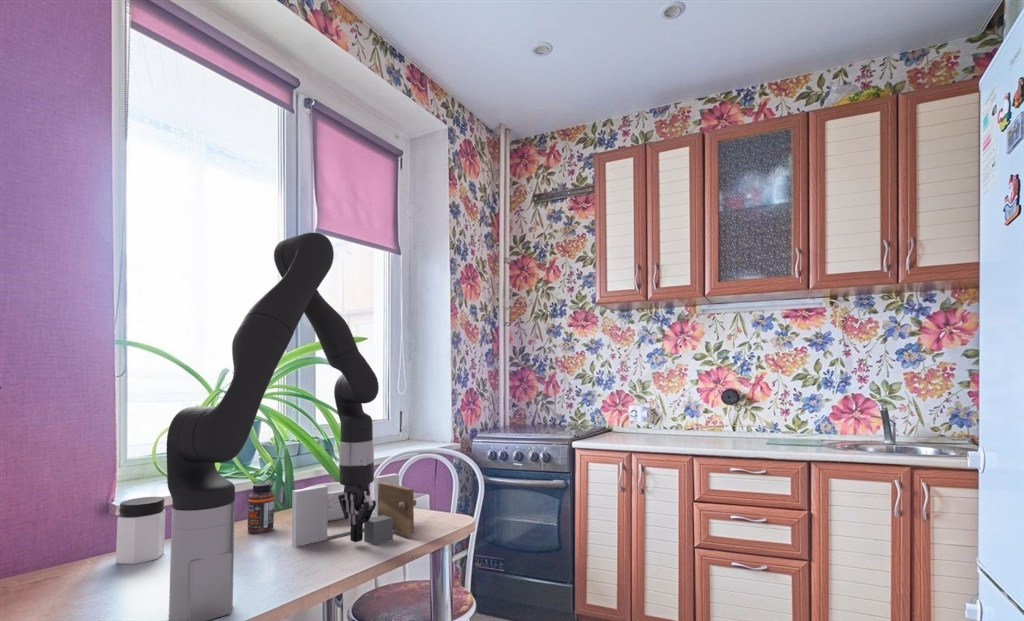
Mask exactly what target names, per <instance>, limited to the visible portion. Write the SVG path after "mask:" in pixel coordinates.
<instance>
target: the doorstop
mask: <svg viewBox="0 0 1024 621" xmlns="http://www.w3.org/2000/svg"><path fill="white" fill-rule="evenodd" d="M363 524H364V525H363V526H364V531H363V542H364V541H365V542H364V543H366V542H367V543H366V544H369V543H370V544H369V545H371V546H376V545H380V544H383V543H382V542H384V543H387V542H386V541H388V542H391V541H390V540H392V541H393V540H394V539H393V538H394V530H393V518H391V517H388V516H384V515H381V516H377V517H374V516H373V517H370V519H369V521H368V522H364V523H363ZM379 543H380V544H379ZM375 544H376V545H375Z"/></svg>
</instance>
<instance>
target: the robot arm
mask: <svg viewBox="0 0 1024 621" xmlns="http://www.w3.org/2000/svg"><path fill="white" fill-rule="evenodd" d="M333 247H334V246H333V244H332V242H331V241H330V239H329V237H327V236H326V235H324V234H322V233H320V232H306V233H303V234H299V235H295V236H292V237H290V238H286V239H284V240H281V241H279V242H278V243H277V244H276V245H275V247H274V251H273V261H274V265H275V267H276V269H277V271H278V273H279V275H280V277H281V279H280V280H279V281H278V282H277V283H275V285H274V286H273V287H272V288H270V289H269V290H268V291H267V292H266V293H265V294H264V295H262V297H260V299H258V300H257V301H256V302H255V303H254V304H253V306H252V307H251V308H250V309H249V311H247V313H246V315H245V316H244V318H243V320H242V321H241V323H240V325H239V327H238V329H237V330H236V332H235V334H234V337H233V339H232V343H231V353H232V355H231V356H232V362H233V375H232V379H231V382H230V384H229V386H228V388H227V390H226V392H225V393H224V396H223V397H222V399H221V400H220V402H219V403H218V404H217V405H216V406H212V405H211V406H205V405H204V406H203V405H202V406H190V407H186V408H183V409H182V410H179V412H177V413H176V414H175V415H174V417H173V419H172V420H171V422H170V425H169V427H168V431H167V435H166V481H167V482H166V484H167V489H168V492H169V494H170V496H171V502H172V505H171V506H172V508H171V531H170V533H171V534H170V535H171V538H170V562H169V564H170V565H169V568H170V570H169V601H168V603H169V604H168V605H169V606H168V620H169V621H211V620H214V619H217V618H221V617H224V616H227V615H230V614H231V613H232V609H233V606H234V603H233V602H234V601H233V600H234V559H235V558H234V557H235V556H234V551H235V550H234V549H235V545H234V544H235V508H236V507H235V506H236V505H235V504H236V487H235V484H234V483H233V482H232V481H230V480H228V479H227V478H225V477H224V476H222V474H220V473H219V471H218V469H217V467H216V464H218V463H220V464H221V463H227V462H230V461H232V460H233V459H235V457H237V456H238V455H239V454H240V452H242V449H243V448H244V446H245V444H246V443H247V440H248V438H249V435H250V433H251V430H252V428H253V426H254V422H255V420H256V418H257V415H258V411H259V409H260V406H261V404H262V401H263V398H264V396H265V394H266V392H267V388H268V386H269V385H270V382H271V380H272V378H273V375H274V374H275V371H276V369H277V368H278V365H279V363H280V361H281V359H282V357H283V355H285V353H286V350H287V348H288V346H289V344H290V342H291V341H292V338H293V336H294V333H295V331H296V329H297V327H298V325H299V323H300V321H301V320H302V318H303V316H304V315H305V316H306V318H307V319H308V321H309V323H310V325H311V327H312V329H313V330H314V332H315V334H316V337H317V339H318V341H319V344H320V346H321V349H322V351H323V353H324V355H325V358H326V360H327V362H328V364H329V365H330V367H332V368H333V369H336V370H338V371H340V372H341V373H342V374H340V375H339V376H338V378H337V380H336V381H335V384H334V391H333V392H334V393H333V395H334V396H333V397H334V402H335V406H336V410H337V415H338V418H339V422H340V445H339V452H338V456H339V458H338V460H339V461H338V465H339V466H338V467H339V470H338V471H339V472H338V479H339V480H338V482H339V483H340V484H341V485H345V487H344V493H343V494H342V495H339V496H338V499H339V502H340V505H341V508H342V511H343V514H344V517H345V518H344V519H345V520H348V524H350V529H351V534H350V541H351V542H352V543H353V542H354V543H359V542H361V541H363V540H364V531H363V526H364V525H363V524H364V522H368V521H369V519H370V518H372V515H373V513H374V508H375V506H376V501H375V500H374V499H373V500H372V499H371V497H370V495H371V492H370V487H369V485H370V484H372V483H374V477H375V471H374V470H375V451H374V450H375V449H374V442H373V439H374V438H373V434H374V433H373V425H374V424H373V418H372V417H371V415H369V414H368V413H365V411H364V409H363V405H364V404H368V403H372V402H373V401H374V400H375V399H376V398H377V397H378V395H379V391H380V390H379V389H380V388H379V386H380V384H379V381H378V378H377V375H376V373H375V372H374V370H373V368H372V367H371V366H370V363H368V361H367V360H366V358H365V357H364V356H363V355H362V353H361V352H360V351H359V348H358V345H357V343H356V340H355V338H354V335H353V332H352V330H351V329H350V326H349V324H348V323H347V322H346V320H345V319H344V318H343V316H341V314H340V313H339V312H337V311H336V310H335V309H334V308H333V307H332V306H331V305H330V303H328V302H327V300H325V298H324V297H323V296H322V295H321V293H320V292H319V291H318V288H319V287H320V285H321V284H322V282H323V281H324V279H325V278H326V276H327V275H328V274H329V271H330V270H331V268H332V265H333V263H334V255H335V252H334V248H333Z"/></svg>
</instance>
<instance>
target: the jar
mask: <svg viewBox="0 0 1024 621" xmlns="http://www.w3.org/2000/svg"><path fill="white" fill-rule="evenodd" d="M118 509H119V510H118V512H119V516H118V517H117V520H116V521H117V522H116V544H115V546H116V547H115V548H116V549H115V563H116V564H119V565H120V564H121V565H137V564H138V565H139V564H142V563H145V562H146V563H148V562H150V561H154V560H155V561H156V560H159V558H160V557H161V556H162V555H163V554H164V552H165V535H166V534H165V533H166V532H165V531H166V509H165V497H163V496H143V497H136V498H131V499H126V500H124V501H122V502H120V503H119V508H118Z"/></svg>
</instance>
